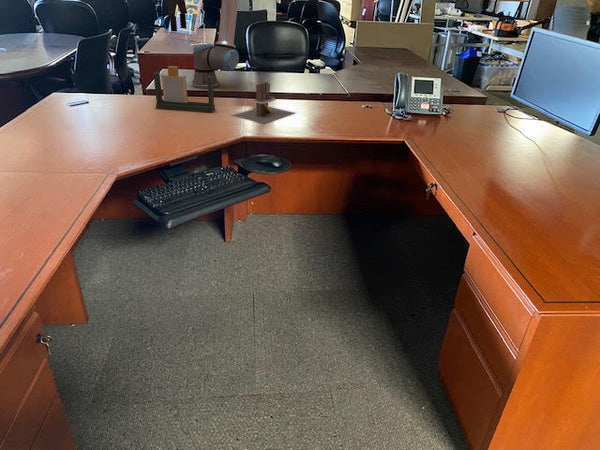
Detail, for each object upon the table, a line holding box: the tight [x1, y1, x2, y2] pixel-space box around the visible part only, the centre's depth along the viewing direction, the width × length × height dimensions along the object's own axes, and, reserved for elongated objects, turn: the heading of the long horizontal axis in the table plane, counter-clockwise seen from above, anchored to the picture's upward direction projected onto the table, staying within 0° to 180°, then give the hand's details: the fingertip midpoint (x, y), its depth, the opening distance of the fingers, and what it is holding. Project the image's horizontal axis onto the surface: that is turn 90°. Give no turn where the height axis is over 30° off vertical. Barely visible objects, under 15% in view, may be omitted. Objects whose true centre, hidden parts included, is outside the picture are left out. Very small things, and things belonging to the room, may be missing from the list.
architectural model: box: [232, 81, 295, 125], centre depth 214 cm, size 20×25×15 cm
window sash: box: [160, 65, 189, 103], centre depth 214 cm, size 3×12×17 cm, turn 84°
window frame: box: [152, 71, 216, 114], centre depth 215 cm, size 6×28×16 cm, turn 84°
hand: (179, 29), depth 214 cm, fingers open, 13 cm apart
